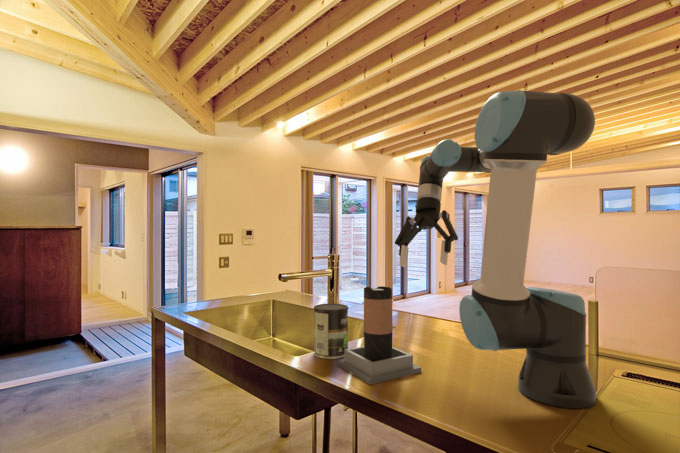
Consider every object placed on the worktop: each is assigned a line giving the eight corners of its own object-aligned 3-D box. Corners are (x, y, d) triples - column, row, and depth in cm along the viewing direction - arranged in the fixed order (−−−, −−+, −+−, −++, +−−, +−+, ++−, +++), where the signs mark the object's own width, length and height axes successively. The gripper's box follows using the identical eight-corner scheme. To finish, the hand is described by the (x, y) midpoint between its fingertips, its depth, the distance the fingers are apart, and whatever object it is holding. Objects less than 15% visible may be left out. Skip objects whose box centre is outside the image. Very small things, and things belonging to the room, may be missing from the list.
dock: (421, 372, 98) (421, 355, 98) (370, 384, 90) (370, 366, 90) (384, 354, 112) (384, 340, 112) (337, 364, 104) (337, 349, 104)
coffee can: (350, 349, 118) (350, 303, 118) (344, 360, 107) (344, 310, 108) (318, 347, 120) (318, 302, 120) (309, 358, 109) (309, 309, 110)
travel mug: (384, 370, 96) (384, 291, 96) (358, 365, 100) (358, 288, 101) (397, 361, 102) (396, 287, 103) (372, 357, 107) (371, 285, 107)
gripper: (471, 199, 114) (468, 266, 106) (401, 212, 131) (394, 271, 123) (460, 188, 110) (456, 257, 102) (389, 202, 126) (380, 263, 118)
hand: (422, 265), depth 112 cm, fingers open, 13 cm apart
